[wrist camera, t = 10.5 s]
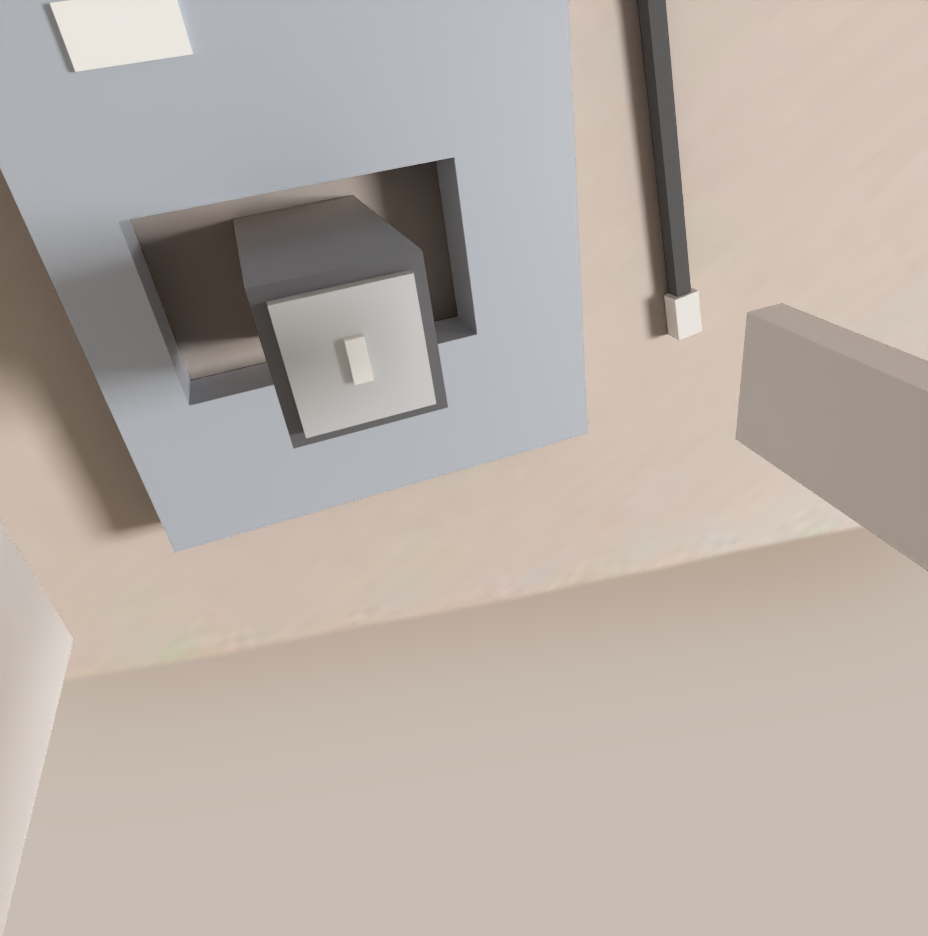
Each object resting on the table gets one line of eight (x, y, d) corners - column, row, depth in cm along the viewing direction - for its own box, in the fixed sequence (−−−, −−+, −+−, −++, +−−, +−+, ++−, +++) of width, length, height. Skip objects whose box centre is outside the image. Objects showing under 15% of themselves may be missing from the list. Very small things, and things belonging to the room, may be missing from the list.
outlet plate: (-81, -70, 19) (-120, -91, 16) (528, -135, 22) (564, -159, 20) (177, 518, 29) (174, 555, 27) (563, 411, 33) (589, 435, 31)
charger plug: (233, 218, 24) (245, 295, 16) (353, 195, 25) (428, 255, 17) (267, 335, 27) (295, 458, 18) (376, 309, 28) (454, 415, 19)
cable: (618, -118, 23) (631, -125, 23) (649, -128, 23) (663, -135, 23) (668, 334, 33) (679, 340, 32) (690, 325, 33) (701, 330, 32)
